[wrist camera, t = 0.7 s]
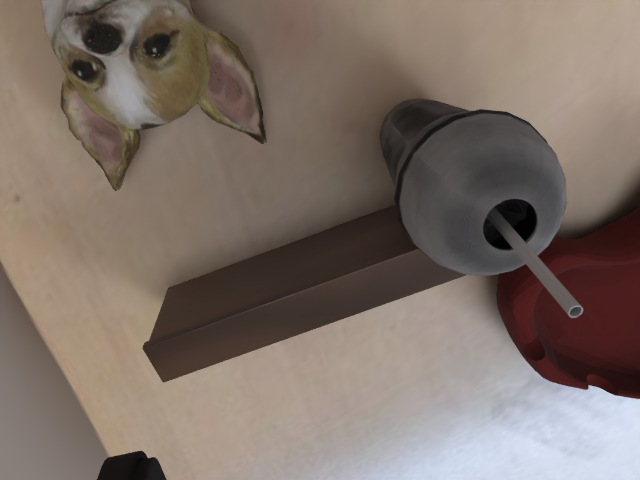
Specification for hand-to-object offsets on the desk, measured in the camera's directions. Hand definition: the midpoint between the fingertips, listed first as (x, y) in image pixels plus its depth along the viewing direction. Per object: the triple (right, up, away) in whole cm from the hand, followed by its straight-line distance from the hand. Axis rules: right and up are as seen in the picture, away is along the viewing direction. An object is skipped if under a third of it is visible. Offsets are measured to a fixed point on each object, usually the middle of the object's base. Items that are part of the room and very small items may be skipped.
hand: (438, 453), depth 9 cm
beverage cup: (+4, +10, +26) cm, 28 cm away
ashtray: (+20, 0, +32) cm, 37 cm away
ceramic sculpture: (-12, +15, +23) cm, 30 cm away
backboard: (-3, +3, +29) cm, 29 cm away
